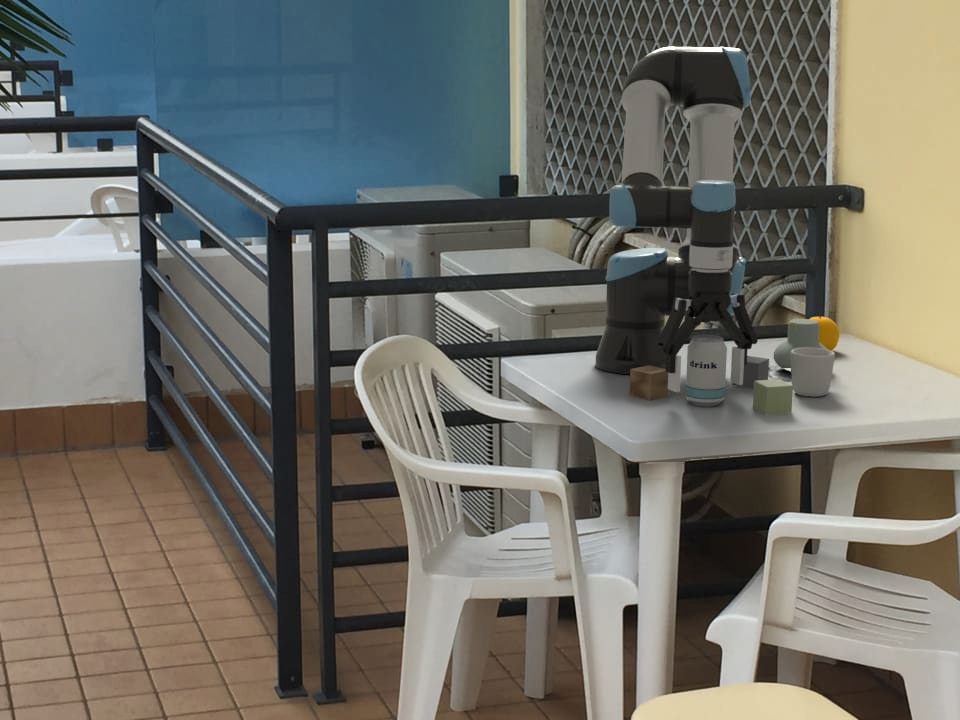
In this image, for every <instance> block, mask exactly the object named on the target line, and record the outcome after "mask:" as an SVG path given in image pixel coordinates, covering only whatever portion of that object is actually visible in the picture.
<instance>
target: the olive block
mask: <svg viewBox="0 0 960 720" xmlns="http://www.w3.org/2000/svg"><path fill="white" fill-rule="evenodd" d="M752 390H753V391H752V392H753V394H752V409H754V410H756V411H758V412H760V413H762V414H763V415H765V414H769V415H777V414H778V415H779V414H780V415H782V414H790V413H789V412H792V413H793V410H792V409H793V395H794V390H793V385H792V383H789V382H786V381H784V380H782V379H781V378H777V379H776V378H773V379H768V380H757V381H754V389H752ZM787 412H788V413H787ZM781 413H782V414H781Z"/></svg>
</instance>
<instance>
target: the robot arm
mask: <svg viewBox="0 0 960 720" xmlns="http://www.w3.org/2000/svg"><path fill="white" fill-rule="evenodd" d="M750 82H751V81H750V73H749V65H748V59H747V57H746V54H745V51H744V50H742V49H740V48H736V47H725V46H722V45H721V46H718V47H714V46H712V47H708V46H703V47H702V46H701V47H700V46H699V47H698V46H696V47H695V46H694V47H693V46H666V47H661V48H658V49H656V50H654V51H652V52H650V53H648V54H646V55H645V56H644V57H642V58H641V59H640V60H639V61H638V62H637V63H636V64H635V65H634V66H633V67H632V68H631V70H630V71H629V73H628V75H627V76H626V78H625V80H624V82H623V85H622V91H621V106H622V107H623V109H624V111H625V120H624V121H625V122H624V123H625V125H624V139H623V140H624V141H623V154H622V155H623V156H622V157H623V158H622V169H621V170H622V173H621V184H619V185H618V184H617V185H612V186H611V187H610V189H609V190H610V192H609V211H608V212H609V217H608V218H609V222H610V224H611V225H612V226H615V227H624V228H625V227H626V228H631V229H632V228H633V229H634V228H663V229H665V228H666V229H686V239H685V240H684V242H682V244H680V246H679V247H678V256H671V255H670V256H669V253H668V250H667V248H663V247H642V248H636V249H635V248H634V249H629V250H622V251H619V252H617V253H615V254H612V255H611V256H610V257H609V258H608V261H607V269H606V276H605V281H606V296H605V303H606V304H605V325H604V326H605V327H604V330H603V333H602V337H601V339H600V341H599V344H598V347H597V351H596V353H595V367H596V368H597V369H600V370H602V371H605V372H608V373H613V374H614V373H615V374H621V375H622V374H623V375H630V369H634V368H638V367H643V366H648V365H650V366H655V367H659V368H663V369H665V370H666V372H668V389H669V391H672V392H675V393H680V392H681V373H682V371H681V369H682V355H680V354H678V353H679V352H680V351H681V349H682V347H683V346H684V345H685V344H686V342H687V341H688V339H689V338H690V336H691V335H692V334H693V333H694V331H695V330H696V328H697V327H699V326H700V325H701V324H702V323H704V324H705V323H707V324H708V323H710V322H715V323H717V322H719V323H720V324H721V326H722V327H723V328H724V329H725V330H726V332H727V334H728V335H729V337H730V338H731V339H732V341H733V342H734V344H735V345H736V346H732V347H731V362H730V363H731V366H730V383H731V384H733V383H735V384H738V385H743V372H744V365H746V363H747V356H748V350H751V349H752V347H753V345H757V343H758V342H759V341H758V337H757V335H756V332H755V329H754V327H753V324H752V321H751V319H750V316H749V314H748V310H747V307H746V296H745V295H743V294H742V289H743V283H744V278H745V271H746V264H747V260H746V259H745V258H744V257H742V256H739V248H738V246H737V245H736V244H735V242H734V231H735V230H734V229H735V216H736V215H735V212H736V205H737V204H736V203H737V199H736V198H737V197H736V186H735V183H734V181H733V179H734V175H733V173H734V147H735V146H734V145H735V144H734V141H735V140H734V139H735V123H736V122H737V121H738V120H739V119H741V118H742V116H743V109H746V108H747V107H749V106H750V104H751V89H750V86H751V85H750V84H751V83H750ZM670 107H682V116H683V117H684V118H685V119H686V120H687V121H688V122H689V123H690V129H689V130H690V131H689V156H688V157H689V158H688V159H689V162H688V186H669V185H668V186H665V185H663V178H664V177H663V176H664V173H663V172H664V171H663V170H664V153H665V152H664V148H665V126H666V125H665V124H666V123H665V122H666V121H665V120H666V119H665V118H666V113H667V112H668V110H669V108H670ZM666 316H667V317H668V318H667V321H666V318H665V317H666ZM733 316H734V317H735V319H736V322H737V324H736V323H735V321H734V319H733ZM665 321H666V322H665Z"/></svg>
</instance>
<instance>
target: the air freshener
mask: <svg viewBox="0 0 960 720" xmlns="http://www.w3.org/2000/svg"><path fill="white" fill-rule="evenodd" d="M787 325H788V326H787V340H786V341H784V342H781V343H780V344H779V345H778V346H776V348H775V349H774V351H773V354H772V355H773V361H774V362H775V364H777V366H778V367H779V368H780V369H782V368H791V350H793V349H796V348H804V347H812V348H822V349H827V348H826V347H825V346H824V345H822V344H820V343H819V342H818V337H819V323H818V322H817V321H815V320H810V318H809V319H808V318H794V319H793V318H792V319H790V320H789V321H788V324H787ZM827 350H828V349H827Z"/></svg>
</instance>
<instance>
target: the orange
mask: <svg viewBox="0 0 960 720" xmlns="http://www.w3.org/2000/svg"><path fill="white" fill-rule="evenodd" d="M809 319H810V320H815V321H817V322H818V323H819V337H818V342H819V343H820V344H822V345H824V346H825V347H826V348H827V349H828V350H831V351H833V350H834V349H835V348H836V347H837V346H838V343H839V339H840V330H839V327H838V325H837V323H835V322H834V321H833V320H832V319H831V318H829V317H826V316H820V315H819V316H812V317H810V318H809Z"/></svg>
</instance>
